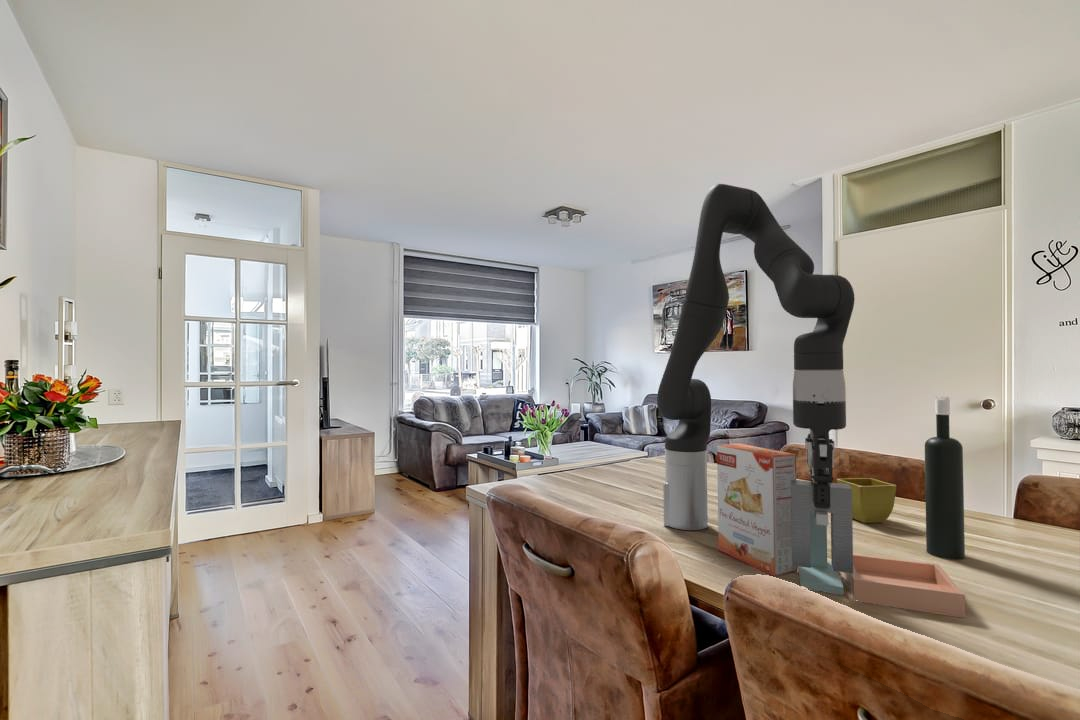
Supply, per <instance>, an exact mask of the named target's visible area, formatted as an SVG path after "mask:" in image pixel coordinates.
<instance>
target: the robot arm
mask: <svg viewBox="0 0 1080 720" xmlns="http://www.w3.org/2000/svg"><path fill="white" fill-rule="evenodd" d="M699 216H700V217H699V223H698V228H697V236H696V243H695V248H694V256H693V259H692V265H691V270H690V273H689V278H688V283H687V286H686V290H685V293H684V297H683V301H682V305H681V309H680V315H679V319H678V324H677V329H676V331H675V336H674V339H673V344H672V346H671V347H672V348H671V351H670V354H669V357H668V361H667V363H666V365H665V369H664V371H663V375H662V377H661V381H660V384H659V386H658V390H657V395H656V396H657V397H656V404H657V405H656V406H657V410H658V411H659V414H660V415H661V416H662V417H663V418H664V419H666V420H670V421H678V424H677V426H676V428H675V429H674V430H673V431H671V432H670V433H669V434H667V435H666V436H665V438H664V460H665V461H664V464H665V465H664V469H665V470H664V471H665V472H664V473H665V474H664V475H665V478H664V479H665V481H664V482H663V485H662V487H663V488H662V489H663V492H662V493H663V526H664V527H665V526H666V527H671V528H673V529H676V530H681V531H700V530H701V531H702V530H704V529H705V530H706V528H707V527H708V524H709V523H708V519H709V515H708V450H707V449H708V448H707V447H708V446H707V444H708V441H709V439H710V435H711V426H712V424H711V423H712V398H711V397H712V396H711V393H710V392H711V391H710V389H709V387H708V386H707V384H706V383H705V381H704V380H701V379H698V378H693V375H694V373H695V369H696V366H697V363H698V362H699V360H700V359H701V358H702V356H703V355H704V353H705V352H706V351H707V350H708V349H709V347H710V346H711V345H712V344H713V342H714V341H715V340H716V338H717V336H718V335H719V333H720V332H721V329H722V327H723V324H724V321H725V317H726V314H727V309H728V305H729V301H730V293H729V289H728V283H727V281H726V277H725V275H724V270H723V267H722V264H721V257H720V256H721V244H722V237H723V233H726V234H731V235H741V236H743V237H746V238H747V239H749V240H750V241H751V242H752V243H754V247H753V255H754V259H755V262H756V263H757V265H758V267H759V268H760V270H761V271H762V272H763V273H764V274H765V275H766V276H767V277H768V278H769V280H770V281H772V283H773V286H774V288H775V292H776V294H777V297H778V300H779V303H780V306H781V307H782V309H783V310H784V311H785V313H788V314H789V315H791V316H792V317H795V318H800V319H817V320H816V323H815V326H814V328H813V330H812V332H807V333H803V334H800V335H798V336H797V337H796V338H795V340H794V342H793V380H792V423H793V425H794V426H795V427H796V428H800V429H804V430H805V429H809V431H810V432H809V433H807V437H805V438H804V446H805V449H806V463H807V467H808V473H809V475H810V481H813V483H814V506H815V507H816V508H821V509H829V508H830V485H831V483H833V481H834V476H833V470H834V467H835V459H834V452H835V449H836V448H835V447H836V445H835V440H833V438H830V432H831V430H833V431H834V430H835V431H836V430H837V431H839V430H843V429H845V428H846V427H847V405H846V404H847V401H846V400H847V398H846V393H847V392H846V391H847V389H846V380H845V379H846V378H845V374H844V343H845V342H844V341H845V339H846V335H847V333H848V327H849V324H850V320H851V318H852V314H853V311H854V306H855V301H856V300H855V299H856V298H855V293H854V292H855V291H854V288H853V286H852V285H851V282H850V281H849V280H848V279H847V278H846V277H844V276H842V275H836V274H819V273H818V274H814V271H815V264H814V261H813V259H812V258H811V256H810V255H809V254H808V253H807V252H806V251H805V250H804V249H803V248H801V246H799V244H798V243H797V242H795V240H793V239H792V238H791V236H789V235H788V234H787V232H785V230H784V229H783V228H782V227H781V225H780V224H779V222H778V221H777V219H776V218H775V216H774V214H773V213H772V211H771V210H770V208H769V206H768V205H767V203H766V202H765V200H764V199H763V197H762V196H761V195H760V194H759V193H758V192H757V191H755V190H753V189H750V188H746V187H742V186H741V187H740V186H734V185H731V184H725V183H717V184H715V185H713V186H711V187H710V189H709V190H708V191H707V193H706V195H705V197H704V199H703V203H702V206H701V211H700V215H699Z"/></svg>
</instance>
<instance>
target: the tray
mask: <svg viewBox="0 0 1080 720" xmlns="http://www.w3.org/2000/svg"><path fill="white" fill-rule="evenodd" d="M843 574H844V576H845V579H847V580H846V583H847V582H848V583H847V585H848V587H849V588H848V589H849V591H850V590H851V591H850V593H852V594H851V596H853V597H852V599H853V601H854V600H855V601H854V602H856V600H858V601H862V602H861V603H863V602H866V603H865V604H869V603H874V604H873V605H876V604H880V605H879V606H883V605H885V606H884V607H889V606H892V607H891V608H895V609H896V608H897V609H902V608H903V609H905V610H910V611H916V612H923V613H930V614H937V615H943V616H949V617H956V618H962V619H966V604H965V603H966V600H965V594H964V592H963V591H962V590H961V589H960V587H959V586H958V585H957V584H956V583H955V582H954V580H953V579H952V578H951V577H950V576H949V575H948V573H947V572H946V571H945V570H944V569H943V567H942V566H941V565H940V564H939V563H933V562H924V561H916V560H910V559H909V560H908V559H907V560H906V559H900V558H898V559H897V558H891V557H883V556H875V555H868V554H867V555H866V554H859V553H858V554H857V553H853V574H852V573H845V572H843Z"/></svg>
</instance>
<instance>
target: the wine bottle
mask: <svg viewBox="0 0 1080 720" xmlns="http://www.w3.org/2000/svg"><path fill="white" fill-rule="evenodd" d="M934 400H935V403H934V404H935V405H934V406H935V408H934V409H935V410H934V411H935V416H936V418H935V419H936V420H935V421H936V422H935V424H936V436H933V437H929V438H928V439H927V440H926V441H925V443H924V481H925V482H924V485H925V487H924V489H925V491H924V492H925V534H926V535H925V537H926V540H925V541H926V545H925V546H926V547H925V548H926V552H927V553H928V554H929V555H932V556H934V557H937V558H941V559H947V560H956V561H957V560H958V561H960V560H964V559H965V557H966V552H965V548H966V547H965V499H964V498H965V496H964V493H965V492H964V489H965V488H964V456H963V455H964V452H963V451H964V450H963V445H962V443H961V441H959V440H957V439H955V438H954V437H950V414H951V410H950V409H951V407H950V397H949V396H935V399H934Z"/></svg>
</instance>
